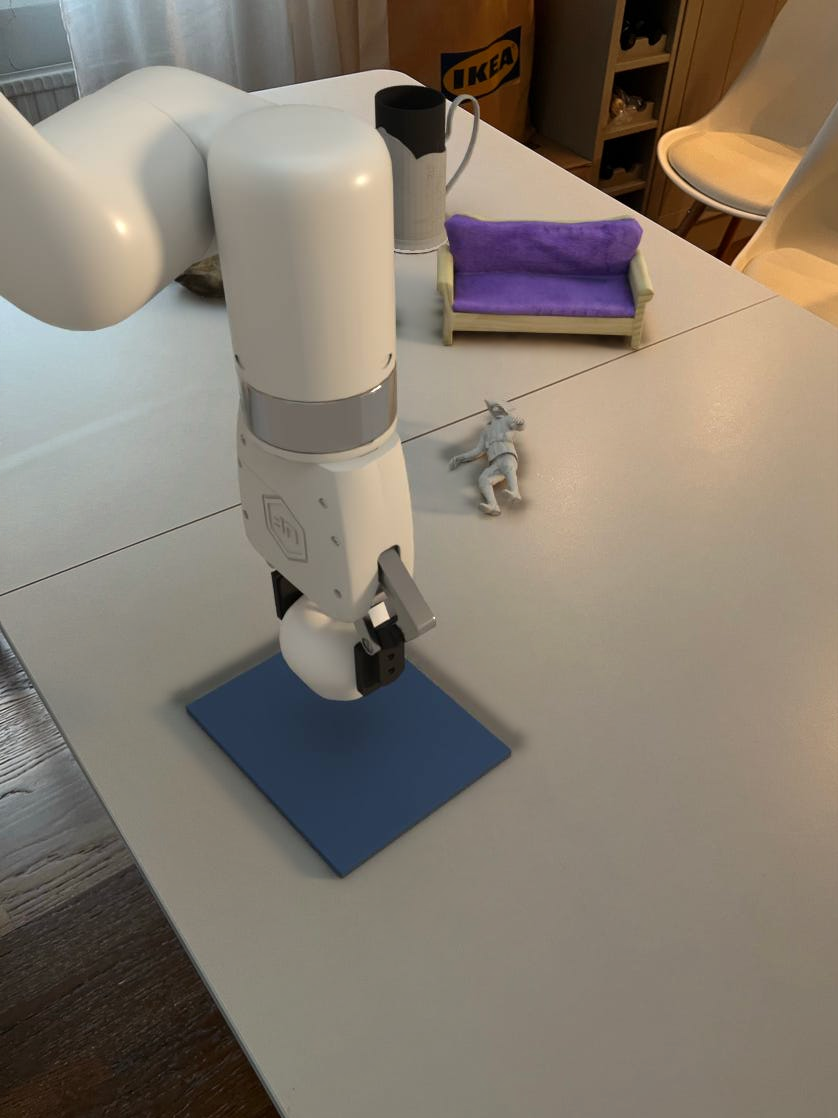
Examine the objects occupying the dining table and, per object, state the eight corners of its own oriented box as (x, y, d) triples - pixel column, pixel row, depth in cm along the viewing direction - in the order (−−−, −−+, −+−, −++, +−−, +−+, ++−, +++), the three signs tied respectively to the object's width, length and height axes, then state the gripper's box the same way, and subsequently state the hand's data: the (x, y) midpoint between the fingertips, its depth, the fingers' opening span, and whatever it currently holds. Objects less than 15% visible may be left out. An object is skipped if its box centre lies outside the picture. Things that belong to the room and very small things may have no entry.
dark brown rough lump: (169, 291, 103) (271, 306, 106) (173, 221, 102) (277, 237, 104) (177, 295, 111) (272, 309, 113) (180, 230, 109) (277, 245, 111)
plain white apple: (295, 635, 67) (283, 542, 62) (404, 641, 68) (402, 549, 62) (276, 718, 63) (262, 625, 57) (393, 725, 63) (391, 632, 57)
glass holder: (357, 232, 119) (351, 93, 109) (450, 201, 126) (453, 67, 116) (405, 261, 115) (404, 119, 104) (498, 227, 122) (506, 90, 111)
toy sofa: (435, 347, 103) (436, 247, 96) (436, 303, 109) (438, 207, 102) (644, 353, 104) (661, 255, 96) (634, 310, 110) (649, 214, 102)
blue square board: (341, 879, 61) (341, 873, 61) (186, 711, 70) (185, 706, 69) (511, 755, 68) (511, 749, 68) (351, 616, 77) (351, 610, 76)
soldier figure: (450, 524, 86) (436, 407, 91) (488, 543, 89) (472, 429, 94) (522, 482, 81) (503, 362, 86) (559, 504, 85) (539, 387, 90)
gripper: (155, 344, 52) (207, 597, 65) (371, 512, 44) (382, 765, 57) (278, 299, 56) (304, 546, 69) (499, 446, 48) (482, 697, 60)
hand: (339, 644), depth 63 cm, fingers closed on plain white apple, 7 cm apart
